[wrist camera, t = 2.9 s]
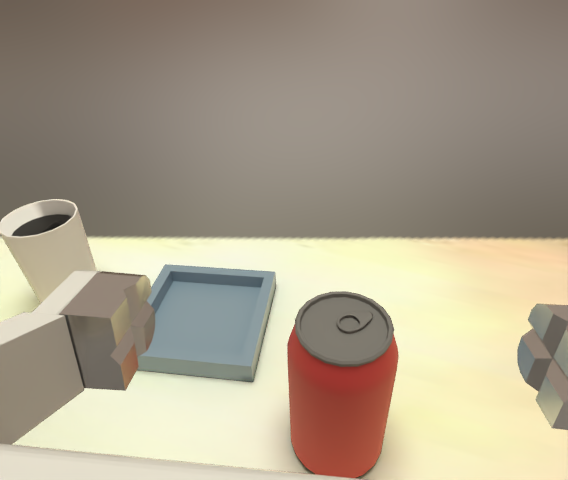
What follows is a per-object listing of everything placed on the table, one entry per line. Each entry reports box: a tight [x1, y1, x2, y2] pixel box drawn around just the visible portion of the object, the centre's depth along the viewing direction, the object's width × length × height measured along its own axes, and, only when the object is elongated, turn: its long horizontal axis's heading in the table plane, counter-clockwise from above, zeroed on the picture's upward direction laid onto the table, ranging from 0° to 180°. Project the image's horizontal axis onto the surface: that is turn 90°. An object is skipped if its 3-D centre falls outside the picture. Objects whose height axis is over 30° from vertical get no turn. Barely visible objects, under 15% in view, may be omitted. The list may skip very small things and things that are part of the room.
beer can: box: [288, 292, 398, 478], centre depth 27 cm, size 7×7×12 cm
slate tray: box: [137, 265, 276, 382], centre depth 40 cm, size 12×12×2 cm
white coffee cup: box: [0, 199, 97, 303], centre depth 41 cm, size 7×7×10 cm
